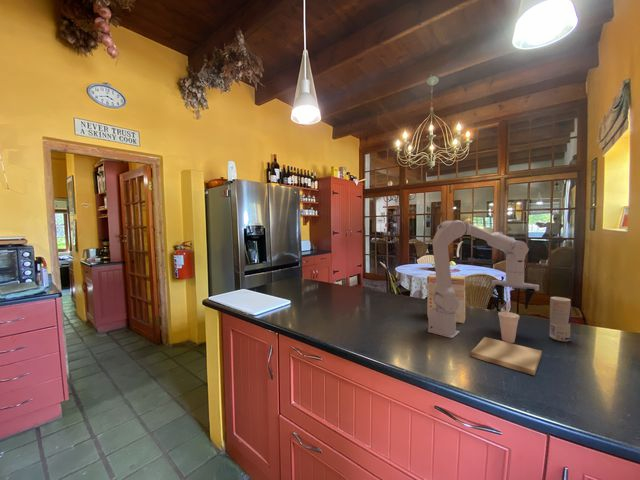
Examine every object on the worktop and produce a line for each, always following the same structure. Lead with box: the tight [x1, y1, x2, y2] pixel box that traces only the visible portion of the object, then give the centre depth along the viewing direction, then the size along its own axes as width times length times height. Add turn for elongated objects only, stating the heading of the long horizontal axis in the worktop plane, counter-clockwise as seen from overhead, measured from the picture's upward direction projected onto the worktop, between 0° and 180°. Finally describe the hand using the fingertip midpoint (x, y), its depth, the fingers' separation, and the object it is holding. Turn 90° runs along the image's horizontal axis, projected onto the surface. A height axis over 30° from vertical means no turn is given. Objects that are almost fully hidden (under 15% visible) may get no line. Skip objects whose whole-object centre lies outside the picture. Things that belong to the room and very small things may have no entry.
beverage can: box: [549, 296, 572, 342], centre depth 97 cm, size 6×6×15 cm
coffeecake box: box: [426, 273, 466, 324], centre depth 120 cm, size 15×7×20 cm, turn 58°
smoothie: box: [497, 302, 520, 344], centre depth 96 cm, size 6×6×14 cm
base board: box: [470, 336, 543, 376], centre depth 85 cm, size 16×16×2 cm
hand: (514, 306), depth 103 cm, fingers open, 7 cm apart
